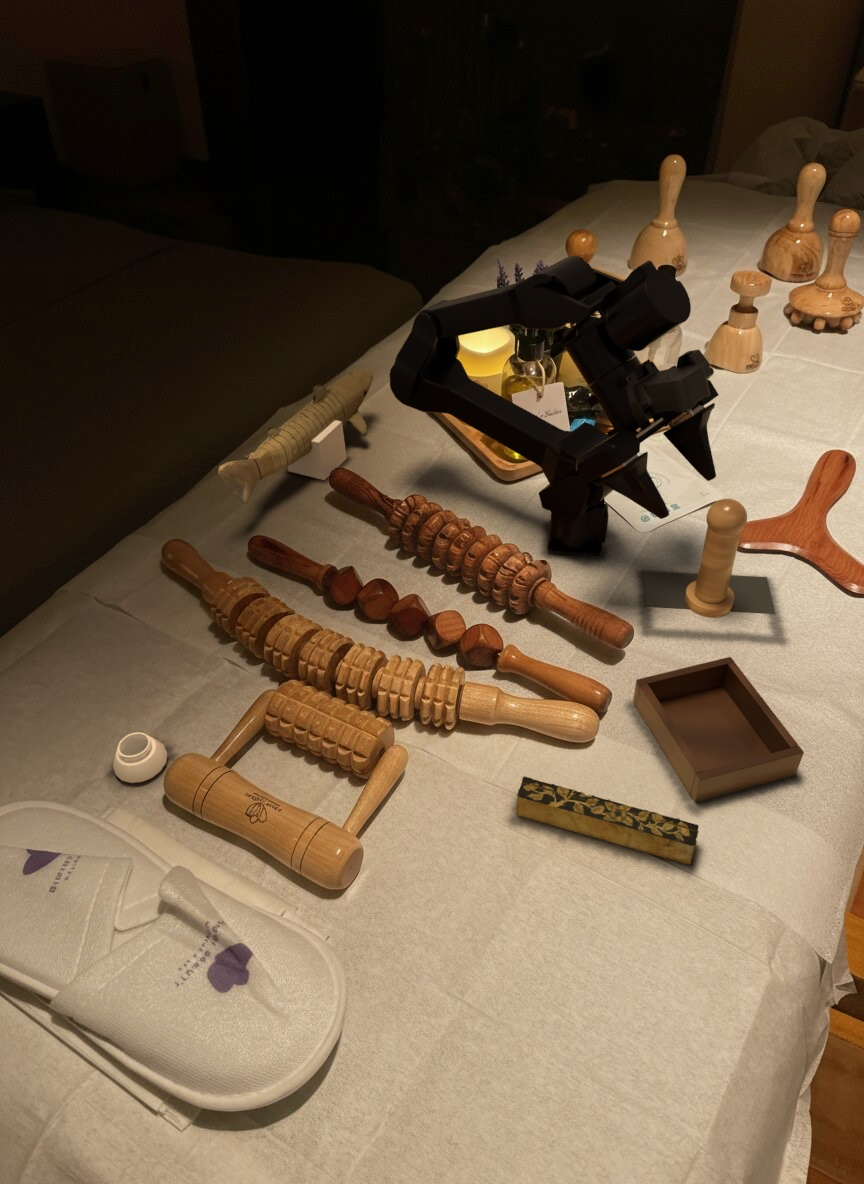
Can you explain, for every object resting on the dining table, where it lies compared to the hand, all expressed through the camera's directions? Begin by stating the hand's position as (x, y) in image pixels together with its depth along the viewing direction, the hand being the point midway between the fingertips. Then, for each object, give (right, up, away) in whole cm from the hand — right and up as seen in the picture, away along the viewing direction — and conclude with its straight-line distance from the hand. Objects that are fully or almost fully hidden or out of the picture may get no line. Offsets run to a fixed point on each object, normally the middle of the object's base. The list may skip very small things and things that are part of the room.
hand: (689, 497), depth 92 cm
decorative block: (-12, -31, -16) cm, 37 cm away
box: (-1, -24, -9) cm, 26 cm away
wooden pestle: (+4, -11, +5) cm, 13 cm away
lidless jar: (-55, -27, -8) cm, 62 cm away
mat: (+4, -12, +6) cm, 13 cm away
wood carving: (-44, +7, +30) cm, 54 cm away
